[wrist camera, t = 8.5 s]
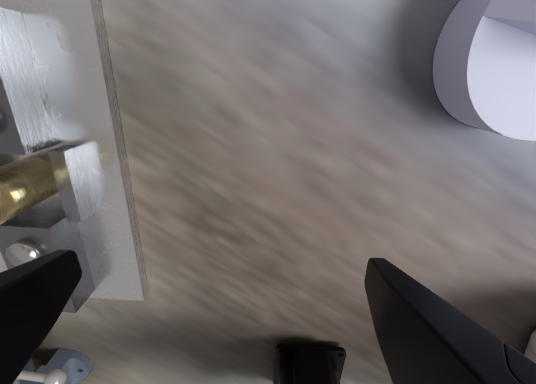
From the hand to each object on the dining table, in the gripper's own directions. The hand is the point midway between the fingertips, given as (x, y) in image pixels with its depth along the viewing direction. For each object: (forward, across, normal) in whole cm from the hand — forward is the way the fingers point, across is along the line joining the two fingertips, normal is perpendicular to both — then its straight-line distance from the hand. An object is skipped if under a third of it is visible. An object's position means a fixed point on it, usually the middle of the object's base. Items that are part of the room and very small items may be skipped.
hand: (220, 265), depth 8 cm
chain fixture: (+12, +15, +1) cm, 19 cm away
